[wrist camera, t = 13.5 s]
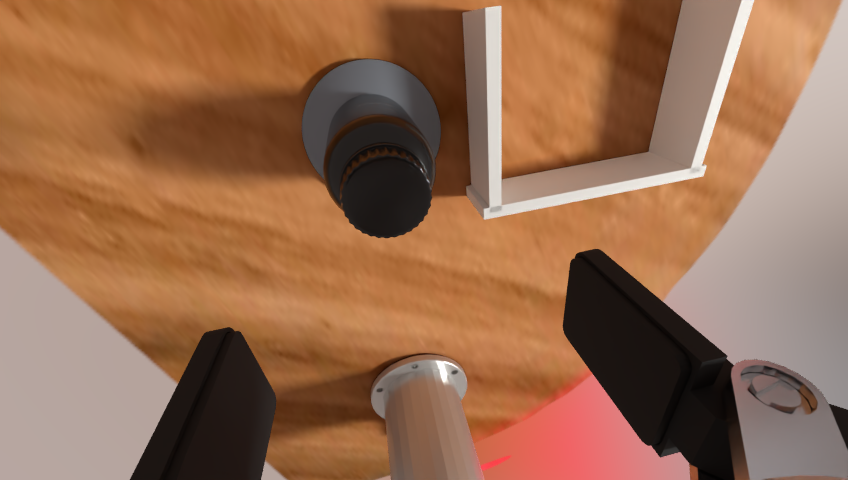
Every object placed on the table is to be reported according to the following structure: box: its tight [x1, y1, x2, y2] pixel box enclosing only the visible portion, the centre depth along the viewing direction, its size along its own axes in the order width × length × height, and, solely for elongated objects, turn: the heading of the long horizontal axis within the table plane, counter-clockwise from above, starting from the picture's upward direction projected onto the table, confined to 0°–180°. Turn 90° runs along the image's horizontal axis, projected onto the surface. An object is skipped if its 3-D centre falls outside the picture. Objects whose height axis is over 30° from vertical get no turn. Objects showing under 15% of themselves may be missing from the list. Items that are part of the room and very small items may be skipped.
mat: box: [302, 59, 441, 179], centre depth 28 cm, size 11×11×1 cm
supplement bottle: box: [323, 94, 436, 238], centre depth 23 cm, size 7×7×12 cm
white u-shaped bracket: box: [463, 0, 754, 220], centre depth 28 cm, size 14×20×5 cm
